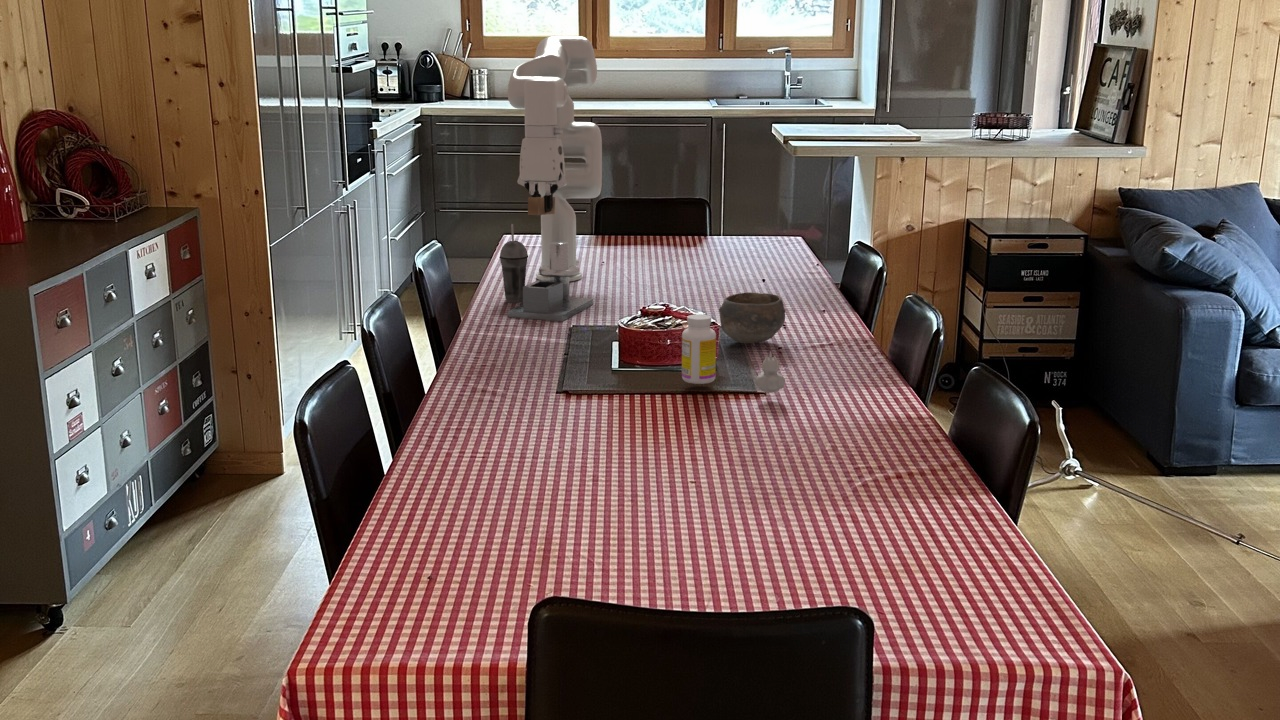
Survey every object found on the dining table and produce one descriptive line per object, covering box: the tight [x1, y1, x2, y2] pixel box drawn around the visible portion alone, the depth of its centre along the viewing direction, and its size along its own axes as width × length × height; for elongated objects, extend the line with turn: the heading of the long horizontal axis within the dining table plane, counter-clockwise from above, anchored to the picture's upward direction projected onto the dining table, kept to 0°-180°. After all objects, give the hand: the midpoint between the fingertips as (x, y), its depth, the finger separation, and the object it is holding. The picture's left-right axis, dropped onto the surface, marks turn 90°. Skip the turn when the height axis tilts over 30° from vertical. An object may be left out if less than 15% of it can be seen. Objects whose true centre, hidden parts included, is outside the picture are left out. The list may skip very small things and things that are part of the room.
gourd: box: [755, 350, 786, 394], centre depth 231 cm, size 5×7×8 cm
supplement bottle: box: [681, 313, 717, 385], centre depth 238 cm, size 7×7×13 cm
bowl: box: [718, 291, 786, 344], centre depth 269 cm, size 14×15×10 cm
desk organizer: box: [507, 242, 594, 323], centre depth 297 cm, size 20×14×16 cm
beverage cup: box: [499, 223, 529, 304], centre depth 307 cm, size 7×7×20 cm
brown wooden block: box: [527, 196, 555, 216], centre depth 288 cm, size 4×2×10 cm
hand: (542, 210), depth 288 cm, fingers closed on brown wooden block, 2 cm apart
